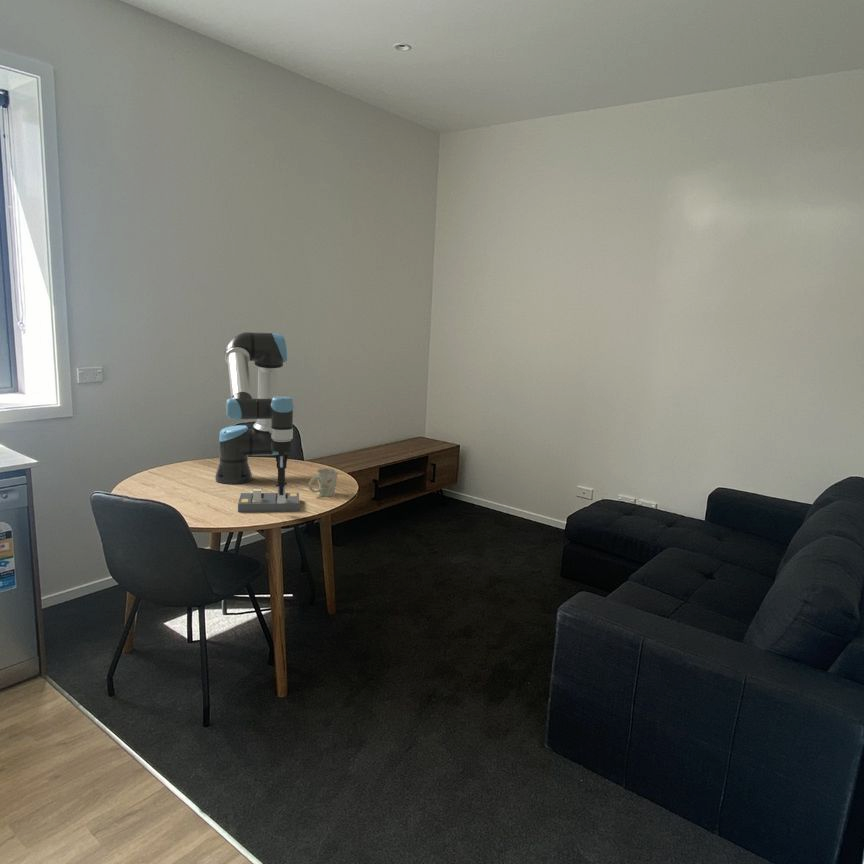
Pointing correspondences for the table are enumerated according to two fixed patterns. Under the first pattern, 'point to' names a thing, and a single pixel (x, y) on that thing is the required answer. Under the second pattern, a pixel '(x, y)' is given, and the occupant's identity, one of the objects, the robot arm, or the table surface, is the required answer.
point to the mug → (325, 482)
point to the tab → (257, 496)
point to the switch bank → (268, 503)
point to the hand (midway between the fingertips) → (281, 502)
